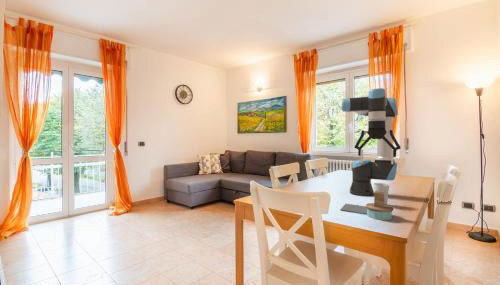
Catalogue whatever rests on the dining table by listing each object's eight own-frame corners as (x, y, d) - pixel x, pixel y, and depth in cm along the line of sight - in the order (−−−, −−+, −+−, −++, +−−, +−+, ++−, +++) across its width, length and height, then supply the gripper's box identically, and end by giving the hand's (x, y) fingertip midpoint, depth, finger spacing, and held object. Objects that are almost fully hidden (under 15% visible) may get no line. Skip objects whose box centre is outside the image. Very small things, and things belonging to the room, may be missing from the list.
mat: (345, 204, 141) (345, 203, 141) (370, 208, 134) (370, 206, 134) (340, 210, 130) (340, 209, 130) (366, 214, 123) (366, 213, 123)
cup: (391, 207, 135) (391, 186, 135) (375, 206, 137) (375, 185, 136) (386, 203, 143) (386, 183, 142) (371, 202, 144) (371, 182, 144)
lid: (367, 203, 129) (367, 188, 129) (393, 207, 122) (393, 191, 122) (364, 209, 119) (364, 193, 119) (392, 213, 112) (392, 196, 112)
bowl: (368, 211, 128) (368, 204, 128) (392, 215, 122) (392, 207, 122) (365, 217, 119) (365, 209, 119) (391, 221, 113) (391, 213, 113)
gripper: (348, 121, 124) (348, 162, 125) (406, 119, 110) (406, 165, 111) (351, 121, 130) (351, 161, 131) (406, 119, 116) (406, 163, 117)
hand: (376, 163), depth 121 cm, fingers open, 13 cm apart
